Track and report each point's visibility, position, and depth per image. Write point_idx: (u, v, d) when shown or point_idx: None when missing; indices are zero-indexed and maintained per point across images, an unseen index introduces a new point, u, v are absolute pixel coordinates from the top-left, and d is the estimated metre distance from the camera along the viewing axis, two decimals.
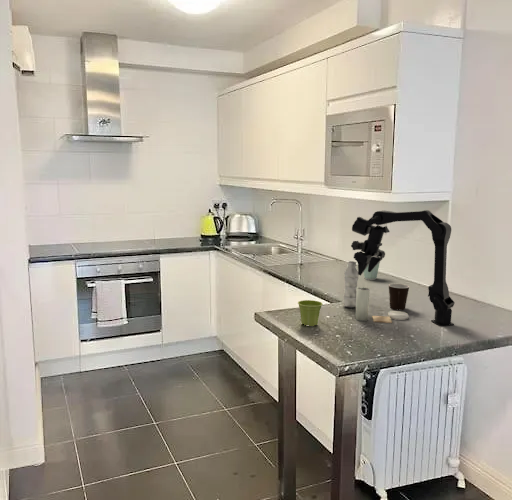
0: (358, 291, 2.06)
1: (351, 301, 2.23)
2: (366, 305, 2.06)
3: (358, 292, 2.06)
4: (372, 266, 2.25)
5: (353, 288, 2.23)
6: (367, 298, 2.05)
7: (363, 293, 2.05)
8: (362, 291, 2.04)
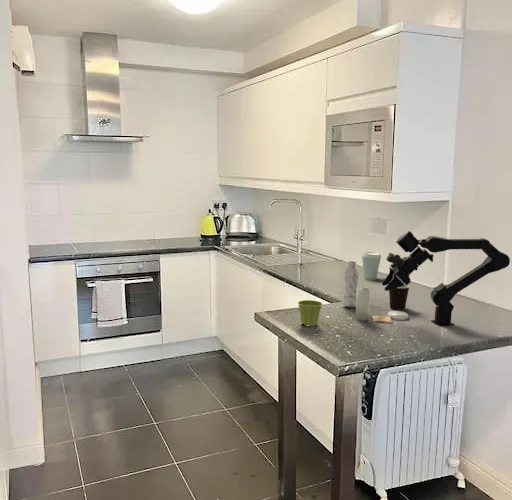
0: (358, 291, 2.06)
1: (351, 301, 2.23)
2: (366, 305, 2.06)
3: (358, 292, 2.05)
4: (389, 281, 2.10)
5: (353, 288, 2.23)
6: (367, 298, 2.05)
7: (363, 293, 2.05)
8: (362, 291, 2.04)
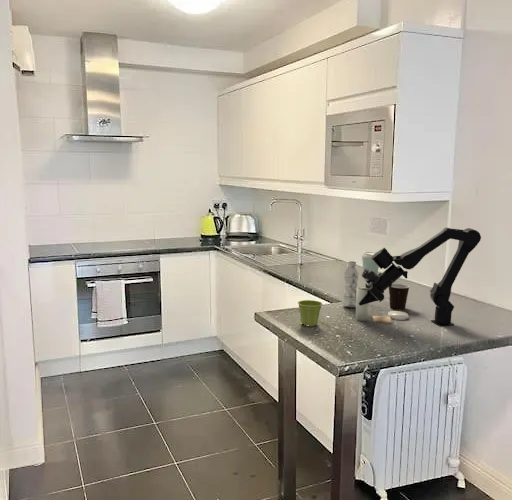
0: (358, 291, 2.06)
1: (351, 301, 2.23)
2: (366, 305, 2.06)
3: (358, 292, 2.05)
4: None
5: (353, 288, 2.23)
6: None
7: (363, 293, 2.05)
8: (362, 291, 2.04)
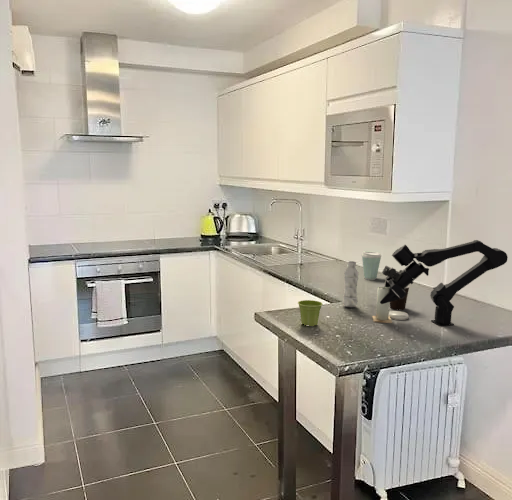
0: (379, 290, 2.05)
1: (351, 301, 2.23)
2: (387, 304, 2.05)
3: (379, 291, 2.04)
4: None
5: (353, 288, 2.23)
6: None
7: (384, 292, 2.04)
8: (383, 290, 2.03)
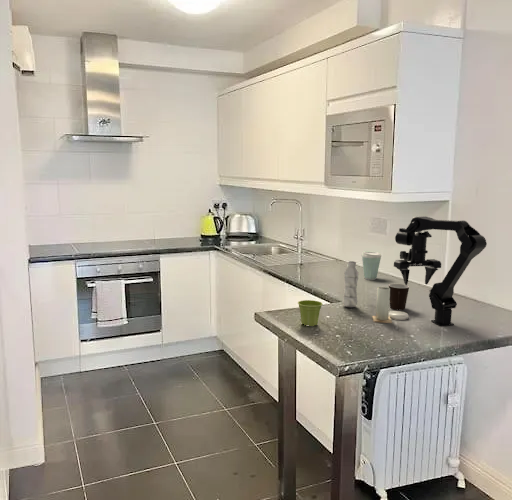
0: (379, 290, 2.05)
1: (351, 301, 2.23)
2: (387, 304, 2.05)
3: (379, 291, 2.05)
4: (427, 277, 2.14)
5: (353, 288, 2.23)
6: (388, 297, 2.04)
7: (384, 292, 2.04)
8: (383, 290, 2.04)
